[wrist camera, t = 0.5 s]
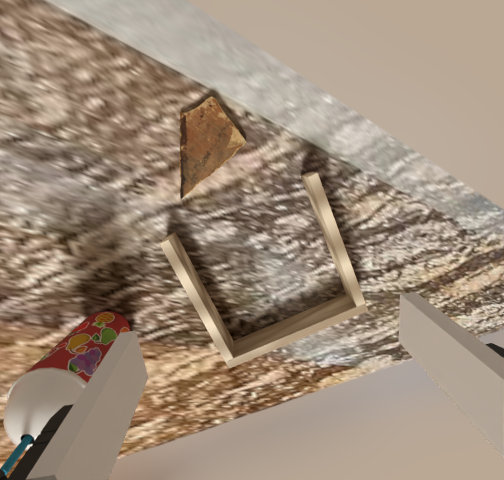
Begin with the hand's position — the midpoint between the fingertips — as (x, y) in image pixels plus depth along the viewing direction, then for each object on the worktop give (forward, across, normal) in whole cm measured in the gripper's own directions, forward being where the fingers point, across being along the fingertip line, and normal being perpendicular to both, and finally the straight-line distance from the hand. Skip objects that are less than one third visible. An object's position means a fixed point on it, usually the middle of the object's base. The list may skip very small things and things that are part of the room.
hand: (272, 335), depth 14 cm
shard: (+26, -3, +10) cm, 28 cm away
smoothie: (+25, -22, -13) cm, 36 cm away
